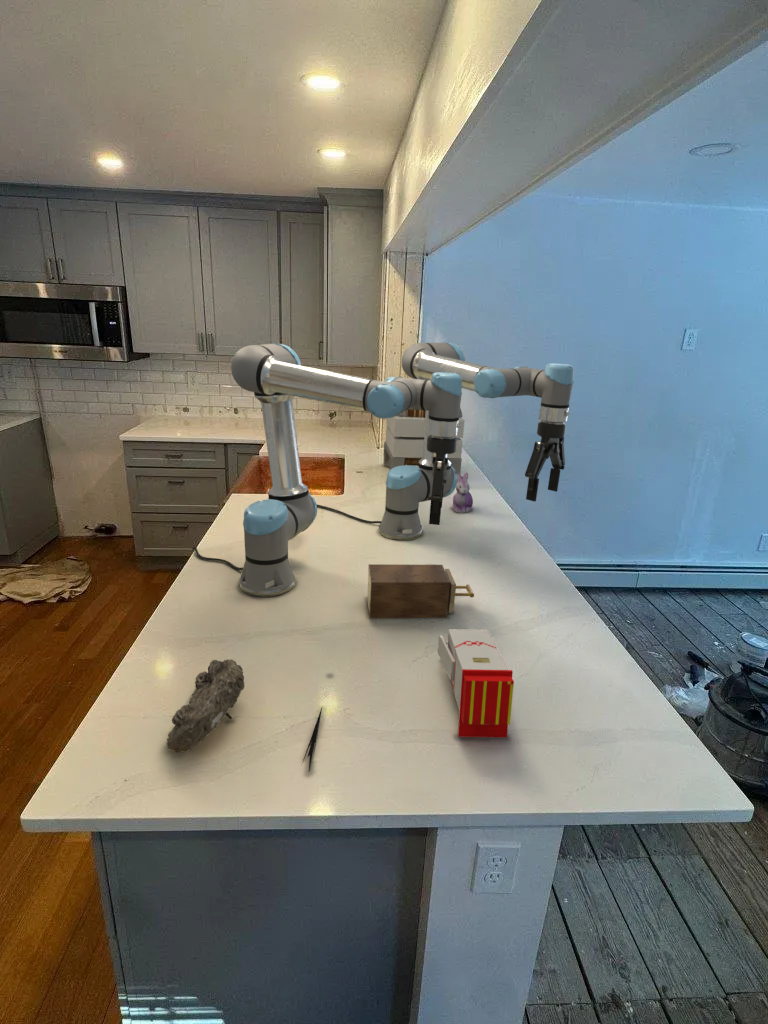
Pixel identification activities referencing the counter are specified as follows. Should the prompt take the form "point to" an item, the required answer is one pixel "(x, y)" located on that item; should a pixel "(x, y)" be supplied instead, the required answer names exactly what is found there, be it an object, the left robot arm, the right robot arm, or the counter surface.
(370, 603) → the cabinet
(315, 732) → the feather
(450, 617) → the counter surface
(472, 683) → the white and red box
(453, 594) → the drawer
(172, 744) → the fossil
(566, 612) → the counter surface
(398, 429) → the transformer
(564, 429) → the right robot arm
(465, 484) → the figurine
